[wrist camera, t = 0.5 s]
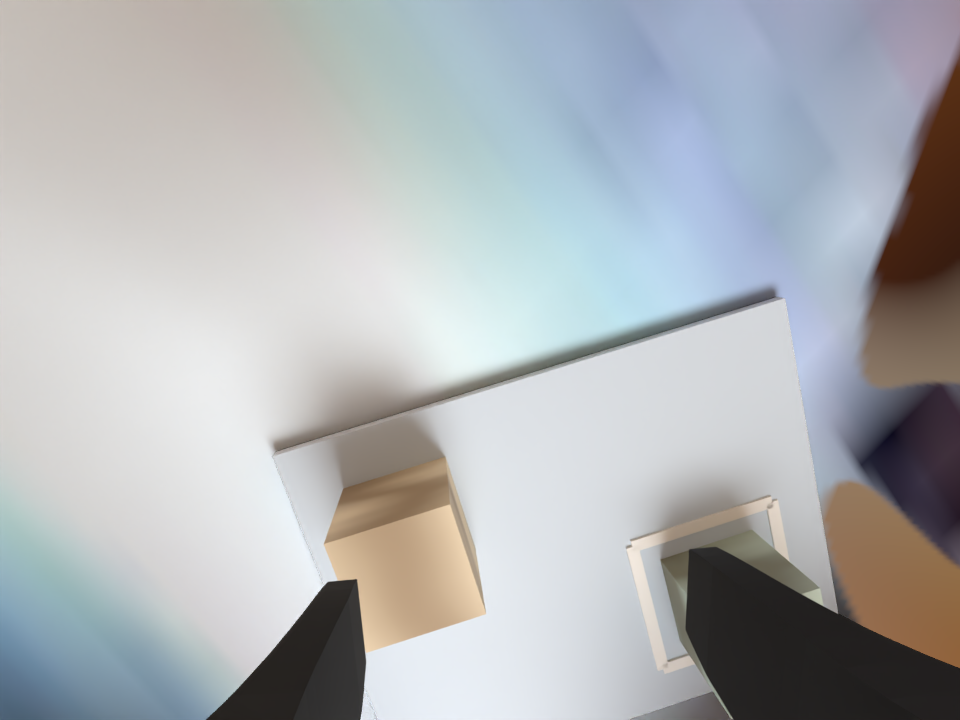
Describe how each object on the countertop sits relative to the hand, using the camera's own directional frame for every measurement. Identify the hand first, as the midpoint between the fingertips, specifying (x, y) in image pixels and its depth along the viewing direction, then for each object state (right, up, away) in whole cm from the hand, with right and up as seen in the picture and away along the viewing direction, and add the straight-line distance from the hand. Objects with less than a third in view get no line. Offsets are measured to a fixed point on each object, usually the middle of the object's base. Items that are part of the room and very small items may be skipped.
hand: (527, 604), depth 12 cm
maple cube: (-4, -1, +9) cm, 10 cm away
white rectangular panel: (+3, -3, +11) cm, 12 cm away
